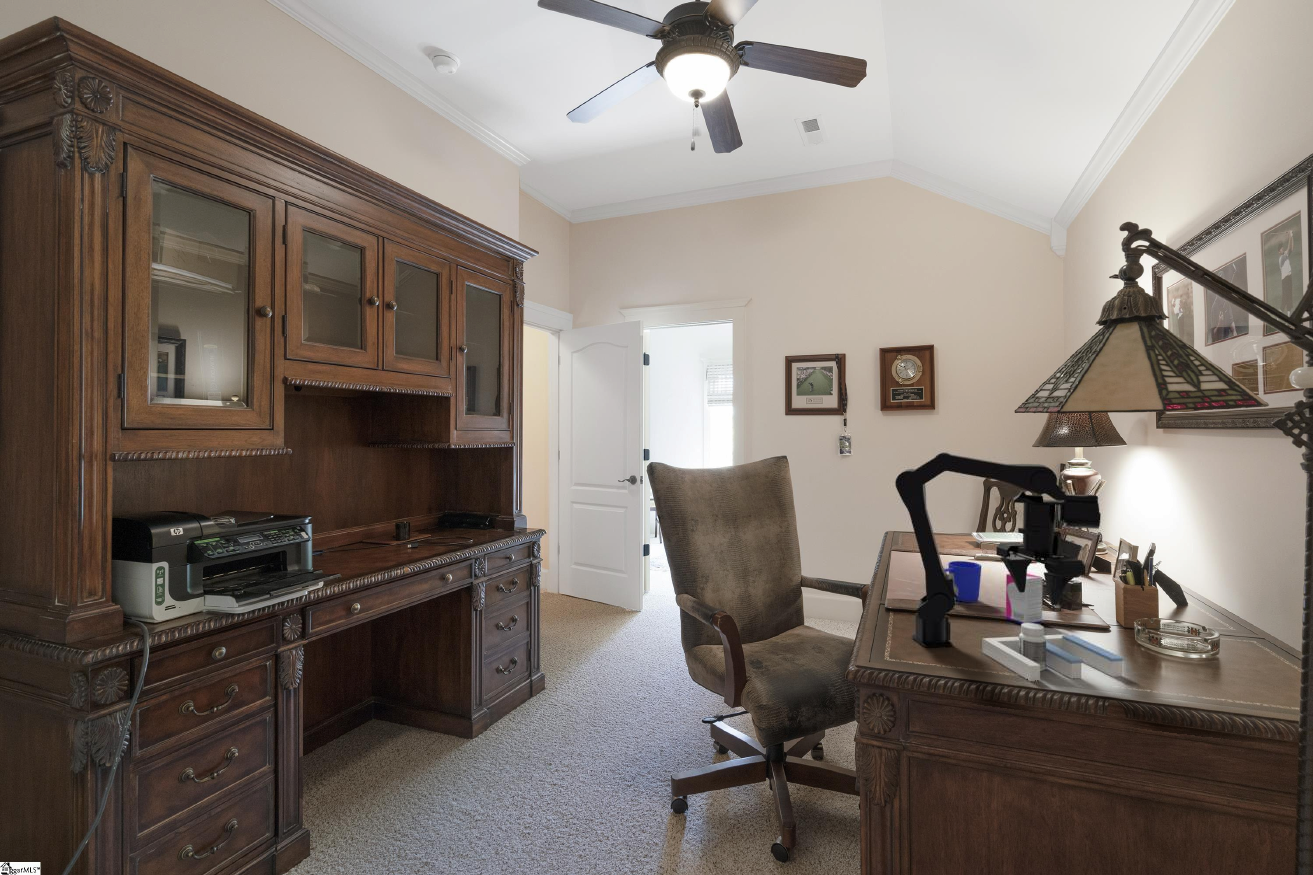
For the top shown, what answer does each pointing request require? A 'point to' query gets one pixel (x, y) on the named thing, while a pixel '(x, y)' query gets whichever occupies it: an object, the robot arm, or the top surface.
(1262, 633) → the top surface
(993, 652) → the white shelf frame
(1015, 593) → the supplement box
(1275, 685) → the top surface
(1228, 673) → the top surface
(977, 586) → the mug
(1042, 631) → the pill bottle
